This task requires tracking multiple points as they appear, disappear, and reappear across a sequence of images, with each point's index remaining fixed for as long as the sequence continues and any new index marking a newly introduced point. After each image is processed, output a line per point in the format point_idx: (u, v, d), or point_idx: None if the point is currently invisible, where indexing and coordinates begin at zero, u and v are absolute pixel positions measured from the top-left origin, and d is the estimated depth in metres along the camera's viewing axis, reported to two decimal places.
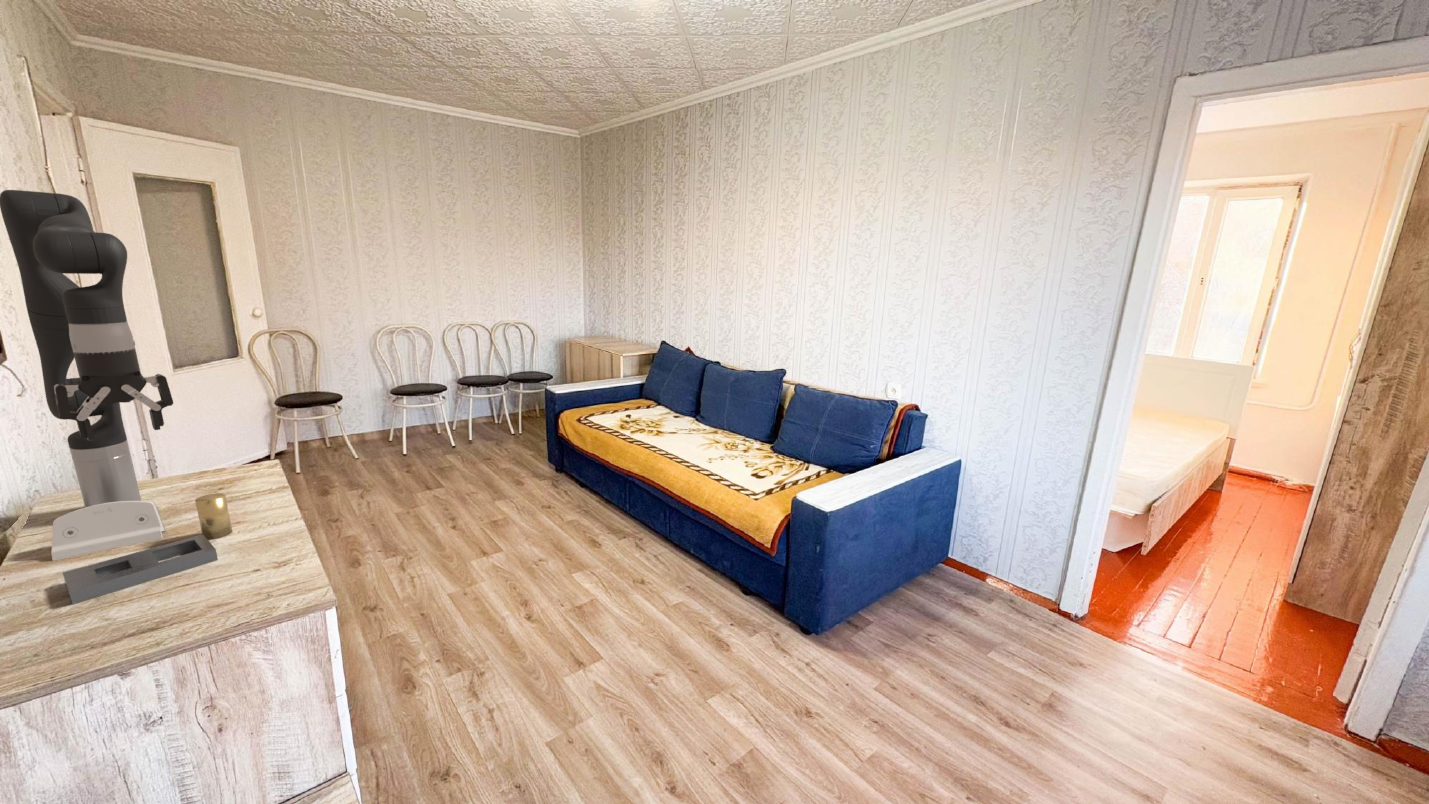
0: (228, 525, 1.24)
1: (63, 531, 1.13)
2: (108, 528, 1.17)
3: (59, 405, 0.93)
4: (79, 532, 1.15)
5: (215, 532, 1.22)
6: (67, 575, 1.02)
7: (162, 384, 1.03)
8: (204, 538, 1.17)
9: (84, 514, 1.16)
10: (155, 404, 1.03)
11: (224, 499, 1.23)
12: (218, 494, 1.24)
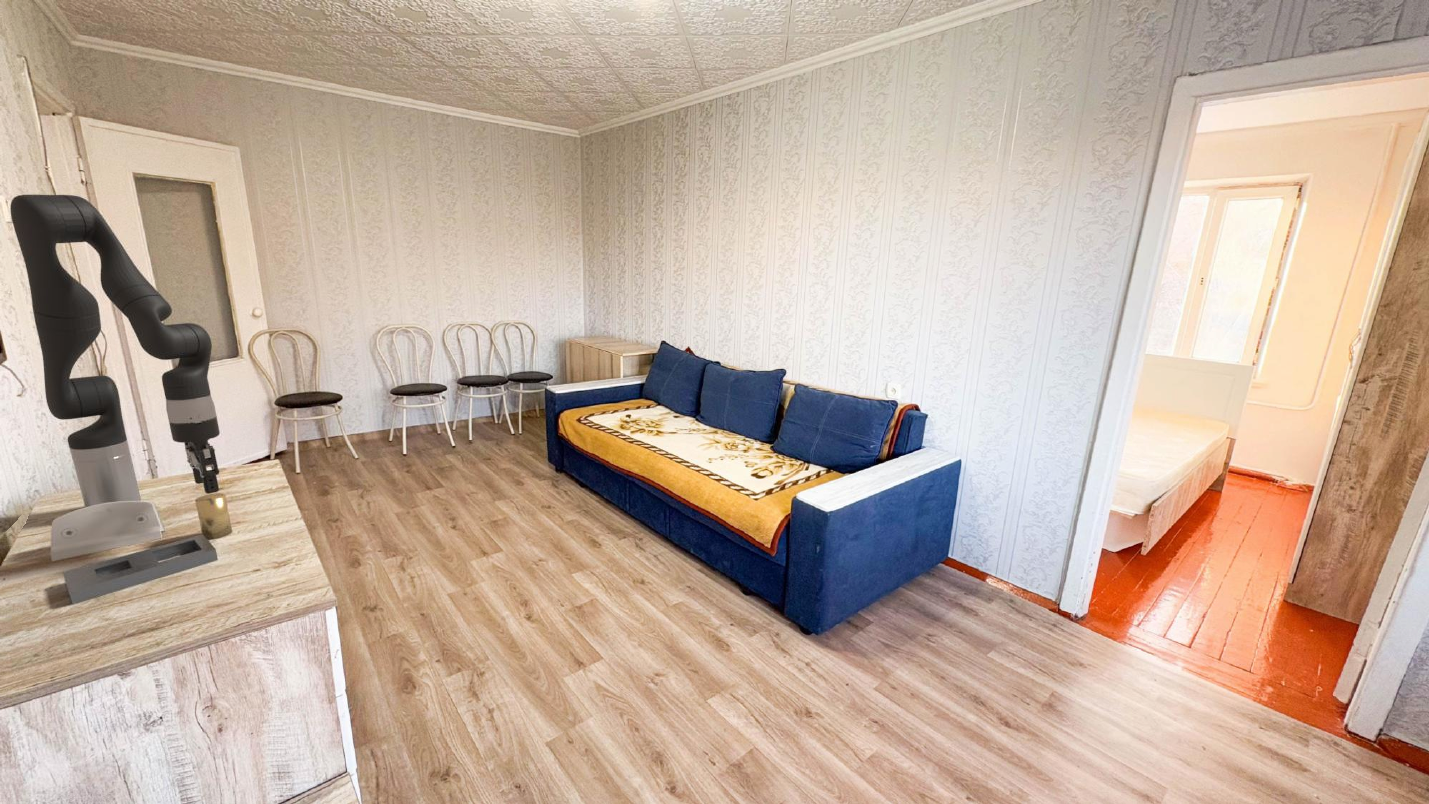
0: (228, 525, 1.24)
1: (62, 532, 1.13)
2: (107, 528, 1.17)
3: (216, 463, 1.16)
4: (78, 532, 1.15)
5: (215, 532, 1.22)
6: (67, 575, 1.02)
7: None
8: (204, 538, 1.17)
9: (83, 514, 1.15)
10: None
11: (224, 499, 1.23)
12: (218, 494, 1.24)
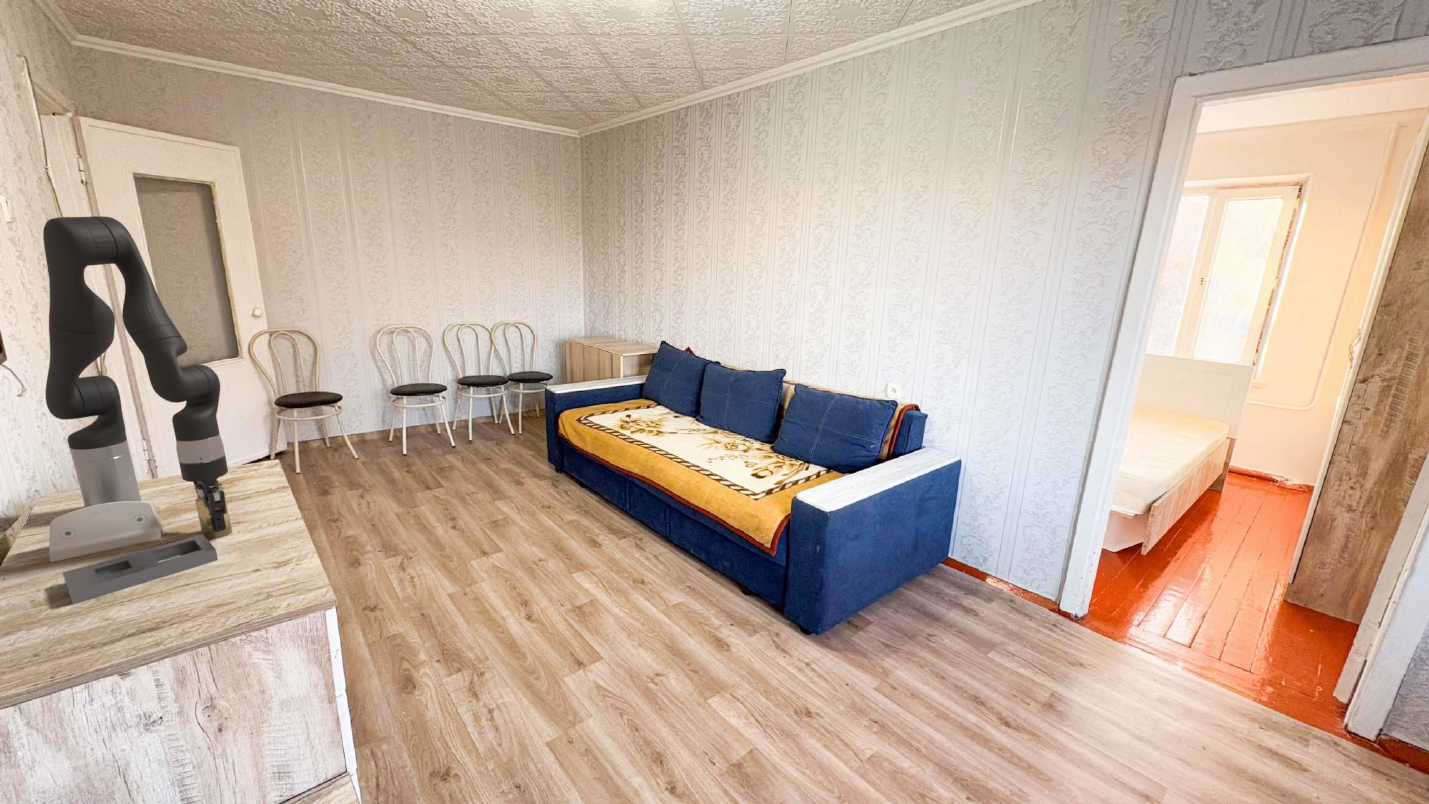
0: (228, 525, 1.24)
1: (60, 532, 1.13)
2: (106, 529, 1.17)
3: (225, 504, 1.20)
4: (77, 533, 1.14)
5: (215, 532, 1.22)
6: (67, 575, 1.02)
7: None
8: (204, 538, 1.17)
9: (82, 515, 1.15)
10: None
11: None
12: None
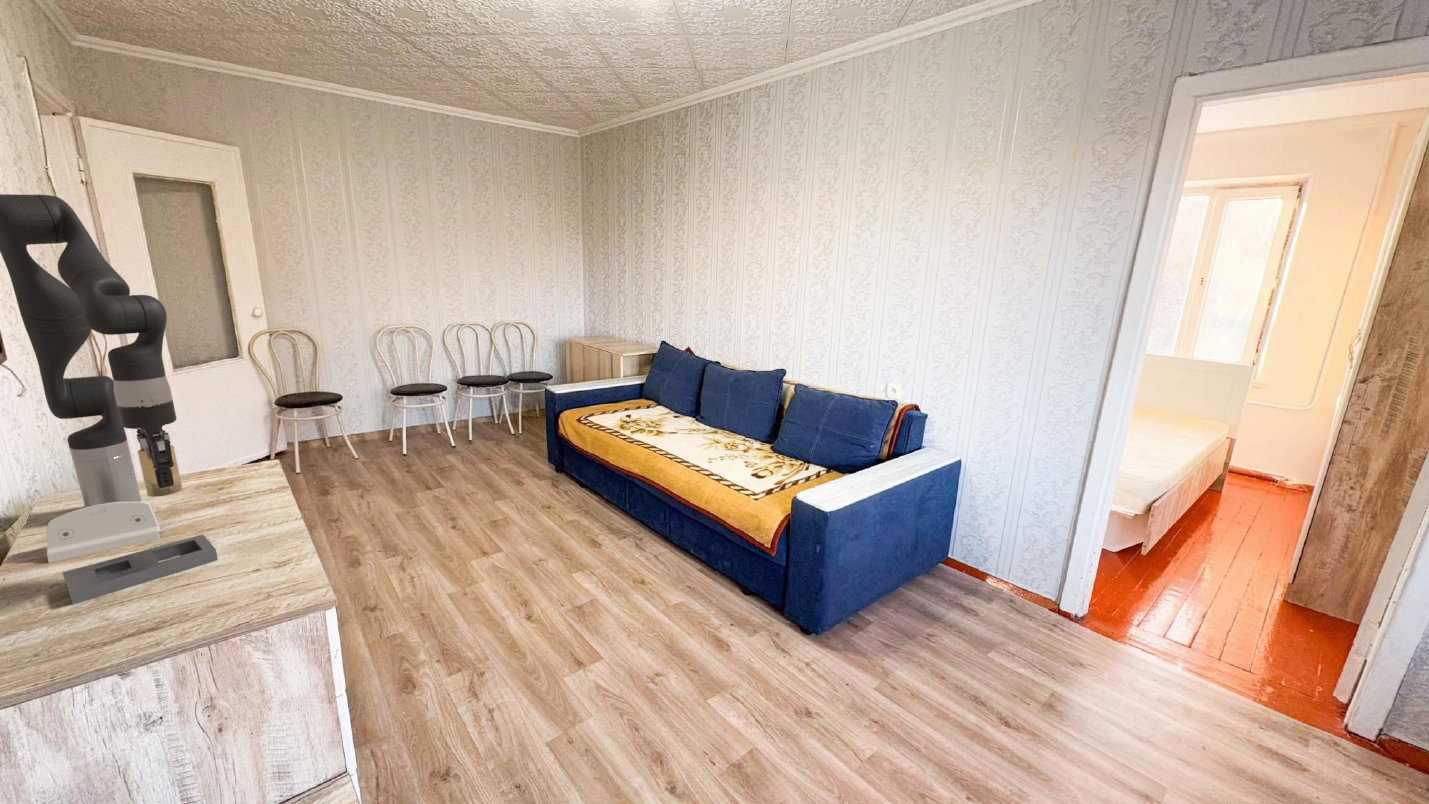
0: (177, 481, 1.09)
1: (58, 533, 1.13)
2: (104, 529, 1.17)
3: (171, 455, 1.05)
4: (75, 534, 1.14)
5: (162, 488, 1.07)
6: (67, 575, 1.02)
7: None
8: (204, 538, 1.17)
9: (79, 515, 1.15)
10: None
11: (172, 451, 1.08)
12: None
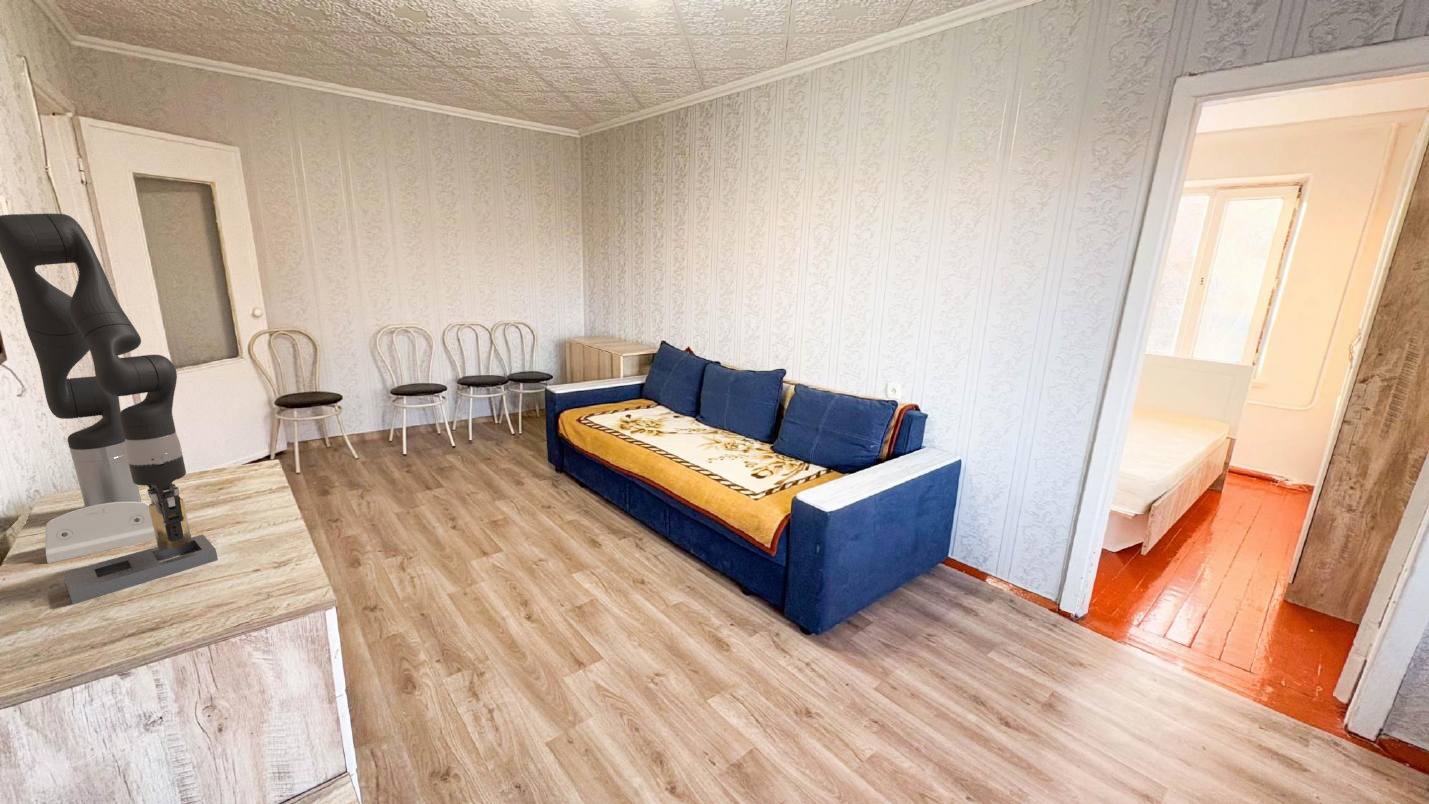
0: (187, 533, 1.12)
1: (57, 533, 1.13)
2: (103, 529, 1.17)
3: (181, 510, 1.07)
4: (73, 534, 1.14)
5: (172, 541, 1.09)
6: (67, 575, 1.02)
7: None
8: (204, 538, 1.17)
9: (78, 516, 1.15)
10: None
11: (182, 504, 1.10)
12: None
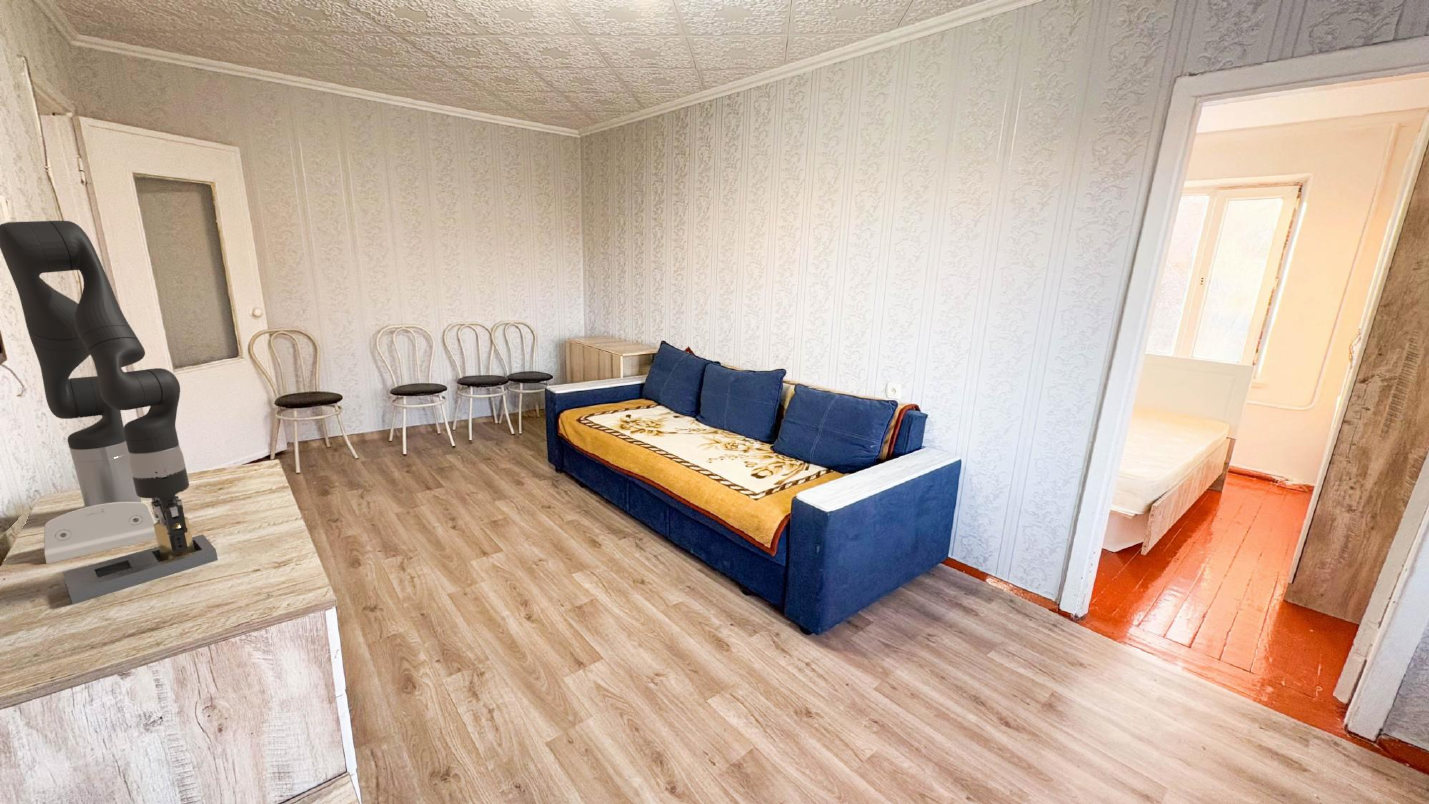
0: (191, 551, 1.13)
1: (56, 534, 1.12)
2: (102, 530, 1.17)
3: None
4: (72, 534, 1.14)
5: None
6: (67, 575, 1.02)
7: None
8: (204, 538, 1.17)
9: (77, 516, 1.15)
10: None
11: (186, 523, 1.12)
12: None
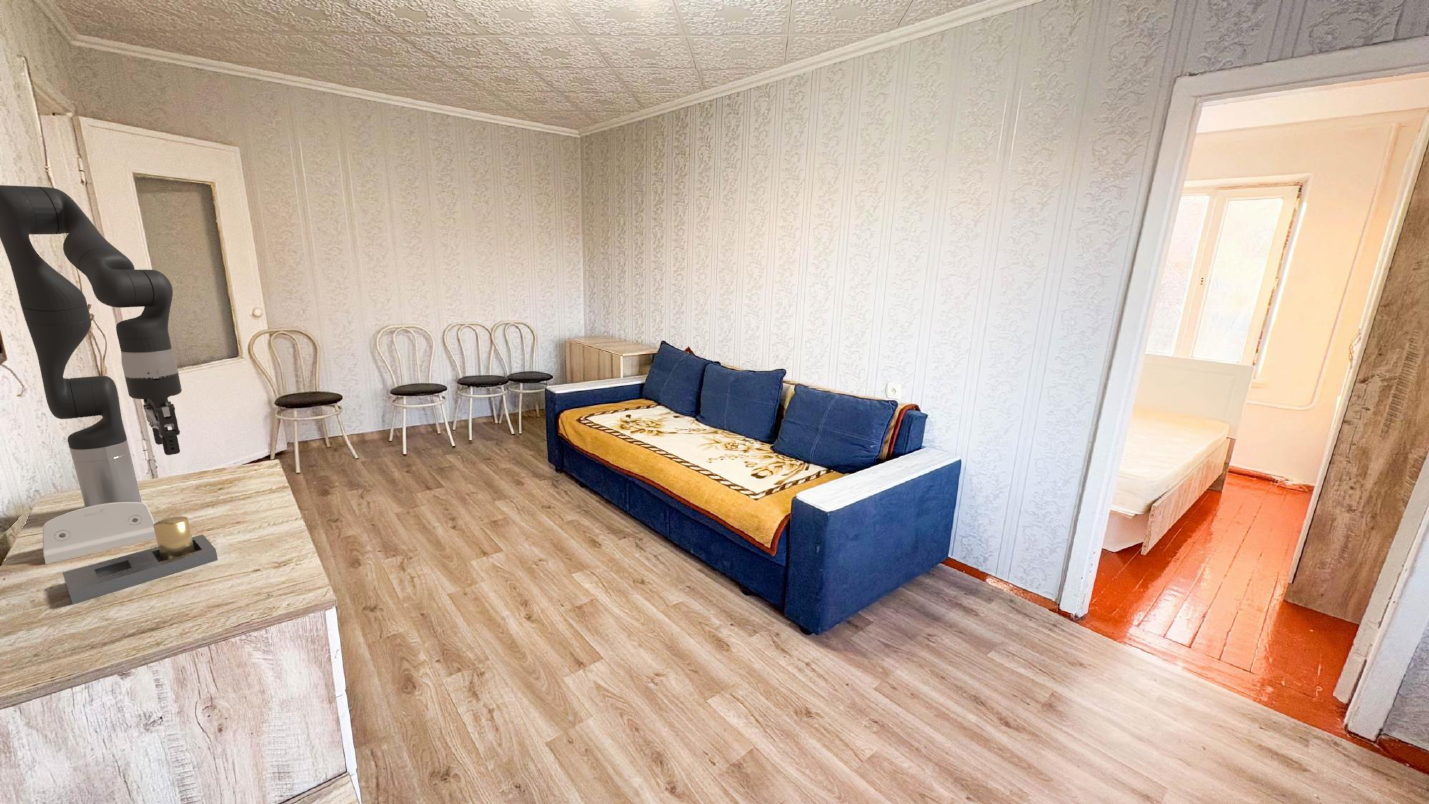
0: (191, 551, 1.13)
1: (54, 534, 1.12)
2: (101, 530, 1.17)
3: None
4: (71, 535, 1.14)
5: None
6: (67, 575, 1.02)
7: None
8: (204, 538, 1.17)
9: (76, 516, 1.14)
10: None
11: (186, 523, 1.11)
12: (180, 517, 1.12)
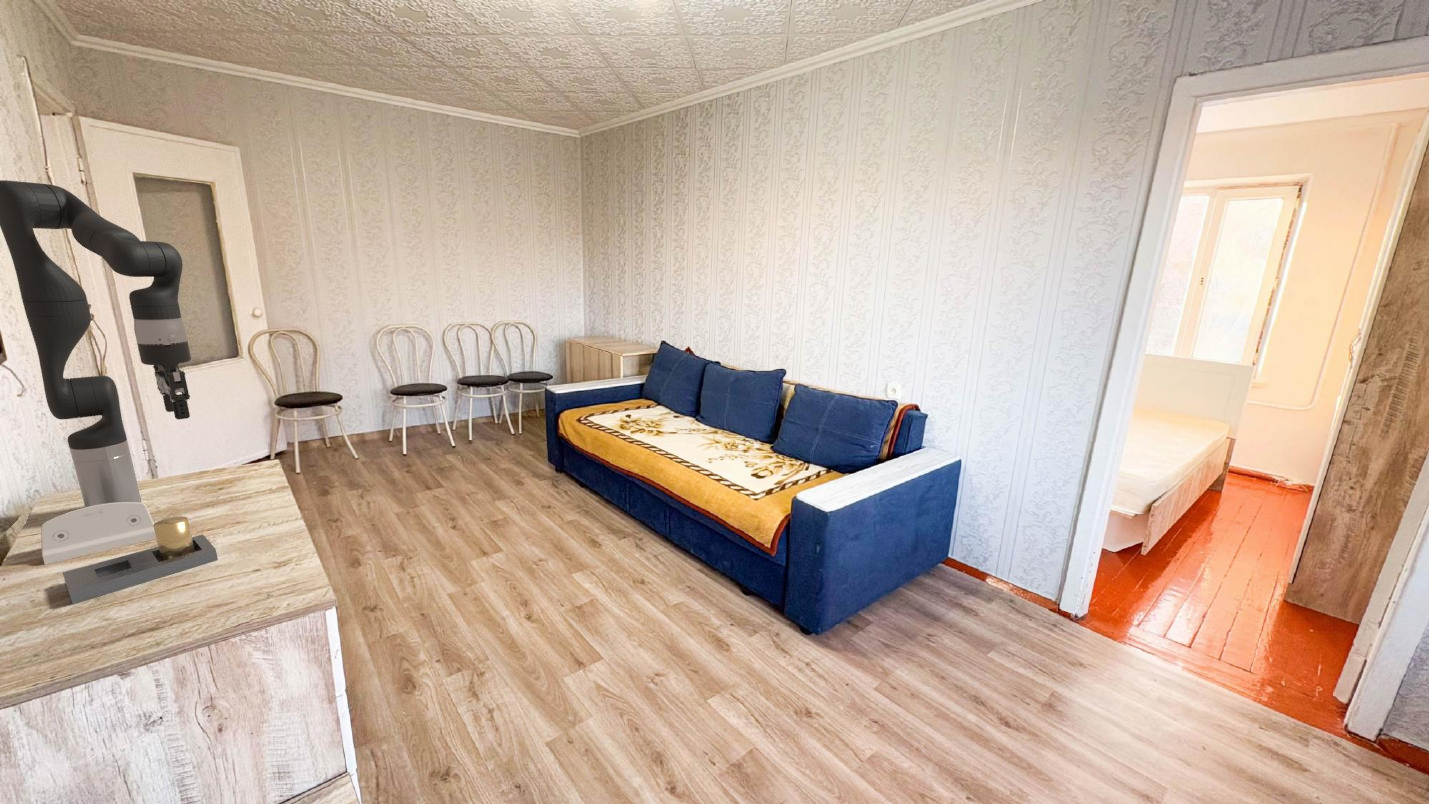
0: (191, 551, 1.13)
1: (53, 535, 1.12)
2: (100, 530, 1.16)
3: None
4: (70, 535, 1.13)
5: None
6: (67, 575, 1.02)
7: None
8: (204, 538, 1.17)
9: (74, 517, 1.14)
10: None
11: (186, 523, 1.11)
12: (180, 517, 1.12)
